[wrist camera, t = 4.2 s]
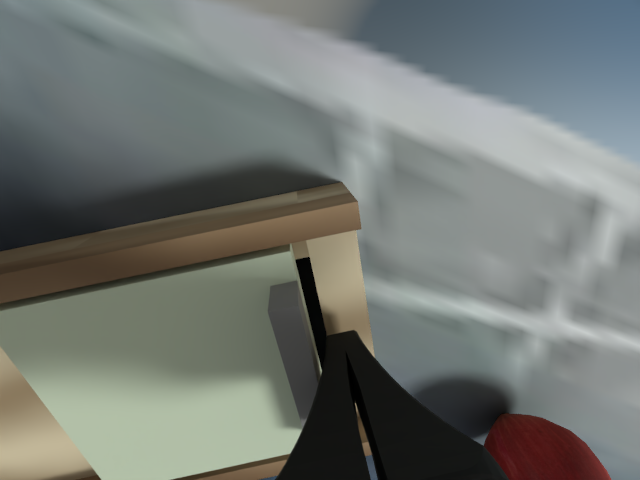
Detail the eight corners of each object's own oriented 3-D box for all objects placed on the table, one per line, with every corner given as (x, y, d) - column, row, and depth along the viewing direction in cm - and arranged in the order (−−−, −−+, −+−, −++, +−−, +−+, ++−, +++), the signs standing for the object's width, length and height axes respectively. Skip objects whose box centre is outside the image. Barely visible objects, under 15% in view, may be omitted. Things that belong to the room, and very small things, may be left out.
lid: (333, 420, 16) (342, 479, 13) (123, 465, 16) (91, 535, 13) (290, 238, 12) (290, 272, 9) (7, 296, 12) (-74, 348, 9)
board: (375, 394, 18) (392, 450, 15) (-26, 480, 18) (-90, 555, 15) (341, 181, 13) (357, 201, 10) (-216, 295, 13) (-373, 351, 10)
